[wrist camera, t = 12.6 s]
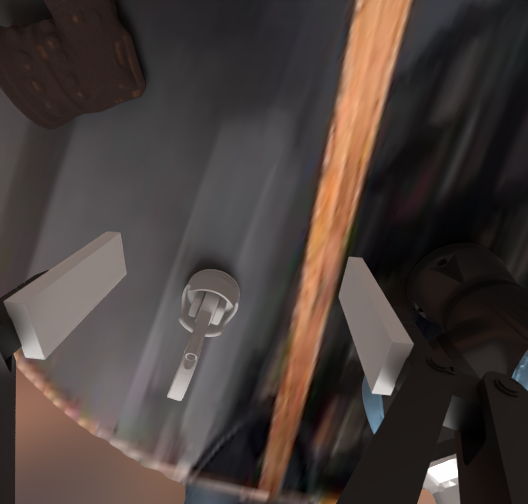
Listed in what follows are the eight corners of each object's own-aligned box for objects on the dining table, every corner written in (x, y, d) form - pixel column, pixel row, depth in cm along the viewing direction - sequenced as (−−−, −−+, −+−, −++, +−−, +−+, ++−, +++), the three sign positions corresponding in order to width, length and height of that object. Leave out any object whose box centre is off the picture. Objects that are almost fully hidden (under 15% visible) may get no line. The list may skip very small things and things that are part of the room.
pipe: (70, -94, 25) (-87, -41, 25) (149, 91, 32) (26, 132, 32) (108, -41, 33) (-9, -1, 33) (164, 96, 40) (67, 128, 40)
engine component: (248, 281, 50) (196, 261, 49) (231, 375, 32) (147, 347, 31) (227, 323, 55) (179, 305, 54) (203, 426, 37) (129, 404, 35)
